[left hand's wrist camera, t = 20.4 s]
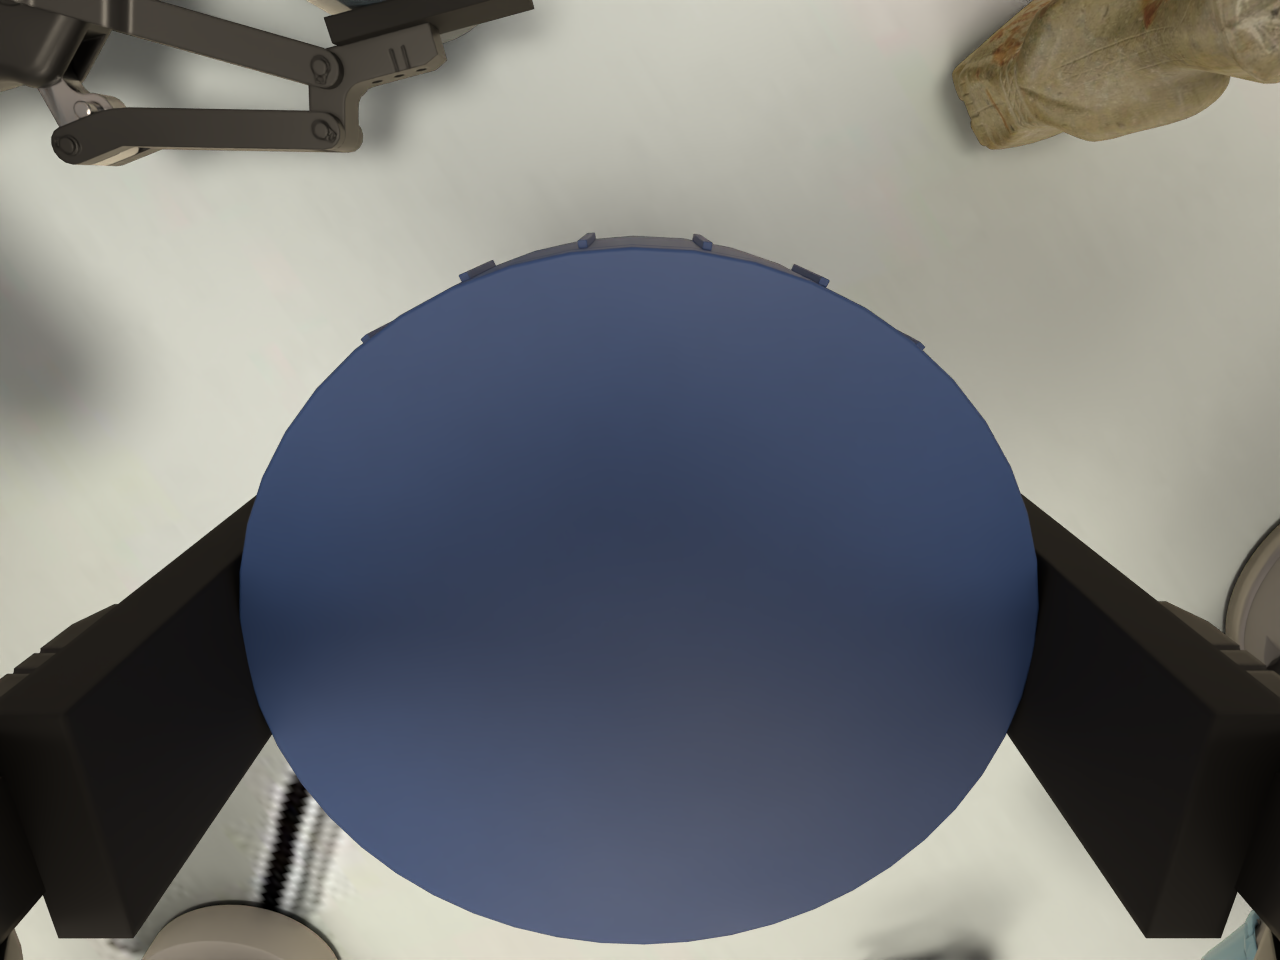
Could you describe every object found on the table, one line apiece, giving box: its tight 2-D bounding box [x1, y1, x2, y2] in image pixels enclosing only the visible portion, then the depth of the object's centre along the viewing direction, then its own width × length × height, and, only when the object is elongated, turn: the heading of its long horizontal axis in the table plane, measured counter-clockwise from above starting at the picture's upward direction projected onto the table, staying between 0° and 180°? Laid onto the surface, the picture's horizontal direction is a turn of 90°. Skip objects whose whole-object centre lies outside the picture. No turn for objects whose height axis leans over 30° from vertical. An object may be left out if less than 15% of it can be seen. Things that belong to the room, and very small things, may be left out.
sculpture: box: [952, 0, 1280, 149], centre depth 26 cm, size 6×7×15 cm
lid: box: [240, 233, 1039, 944], centre depth 11 cm, size 10×10×2 cm
